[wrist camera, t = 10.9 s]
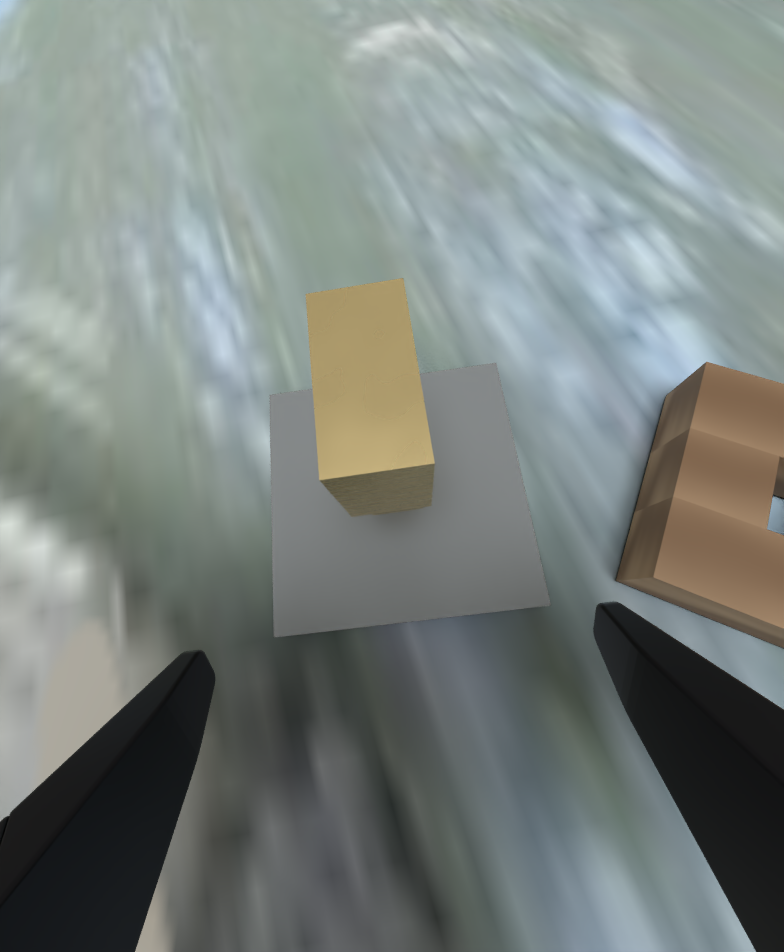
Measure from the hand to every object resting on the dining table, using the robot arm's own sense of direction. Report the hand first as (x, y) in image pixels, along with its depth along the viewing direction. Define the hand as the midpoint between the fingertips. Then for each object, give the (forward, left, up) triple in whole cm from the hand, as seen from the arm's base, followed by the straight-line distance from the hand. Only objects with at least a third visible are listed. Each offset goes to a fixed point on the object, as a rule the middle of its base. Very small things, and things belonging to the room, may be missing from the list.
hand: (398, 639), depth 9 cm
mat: (+6, +1, -9) cm, 11 cm away
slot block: (+4, -16, -9) cm, 19 cm away
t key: (+6, +1, -8) cm, 10 cm away
